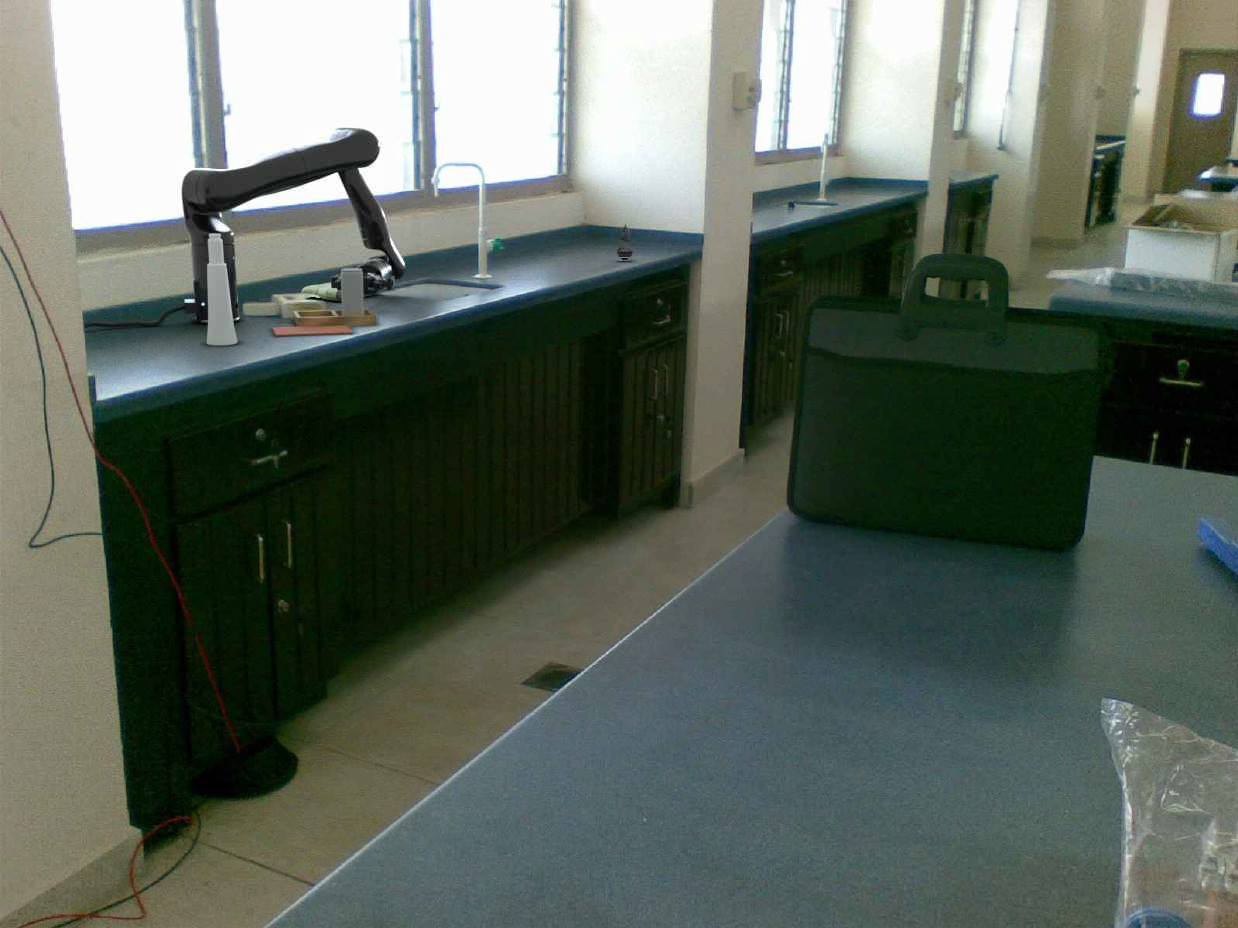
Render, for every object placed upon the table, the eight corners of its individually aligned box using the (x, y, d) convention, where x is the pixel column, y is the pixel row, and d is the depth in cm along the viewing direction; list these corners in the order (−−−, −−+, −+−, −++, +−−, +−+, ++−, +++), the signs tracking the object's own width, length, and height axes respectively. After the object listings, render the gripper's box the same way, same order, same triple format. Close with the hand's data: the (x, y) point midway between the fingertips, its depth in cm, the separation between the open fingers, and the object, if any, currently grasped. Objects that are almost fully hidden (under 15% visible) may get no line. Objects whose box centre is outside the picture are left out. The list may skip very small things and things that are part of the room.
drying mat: (275, 336, 253) (275, 334, 253) (272, 329, 261) (272, 327, 261) (352, 333, 259) (352, 332, 258) (347, 326, 267) (347, 324, 267)
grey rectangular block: (359, 324, 270) (357, 271, 266) (339, 323, 271) (337, 269, 267) (367, 321, 274) (366, 268, 271) (347, 319, 275) (346, 267, 272)
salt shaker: (636, 261, 398) (637, 224, 394) (627, 262, 393) (628, 225, 390) (621, 259, 401) (622, 223, 397) (612, 261, 396) (613, 224, 393)
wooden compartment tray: (297, 327, 264) (297, 317, 263) (294, 320, 272) (293, 310, 272) (376, 325, 270) (376, 315, 269) (370, 318, 278) (370, 308, 277)
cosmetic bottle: (243, 343, 245) (236, 234, 239) (216, 347, 241) (208, 236, 234) (227, 339, 249) (220, 231, 243) (200, 342, 245) (192, 233, 238)
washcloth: (382, 294, 313) (381, 282, 312) (338, 303, 298) (338, 290, 297) (342, 290, 318) (341, 278, 318) (297, 298, 303) (296, 285, 302)
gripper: (341, 260, 290) (325, 268, 274) (400, 262, 290) (387, 270, 274) (342, 291, 292) (326, 301, 276) (400, 293, 292) (388, 303, 276)
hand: (356, 286), depth 275 cm, fingers open, 8 cm apart
